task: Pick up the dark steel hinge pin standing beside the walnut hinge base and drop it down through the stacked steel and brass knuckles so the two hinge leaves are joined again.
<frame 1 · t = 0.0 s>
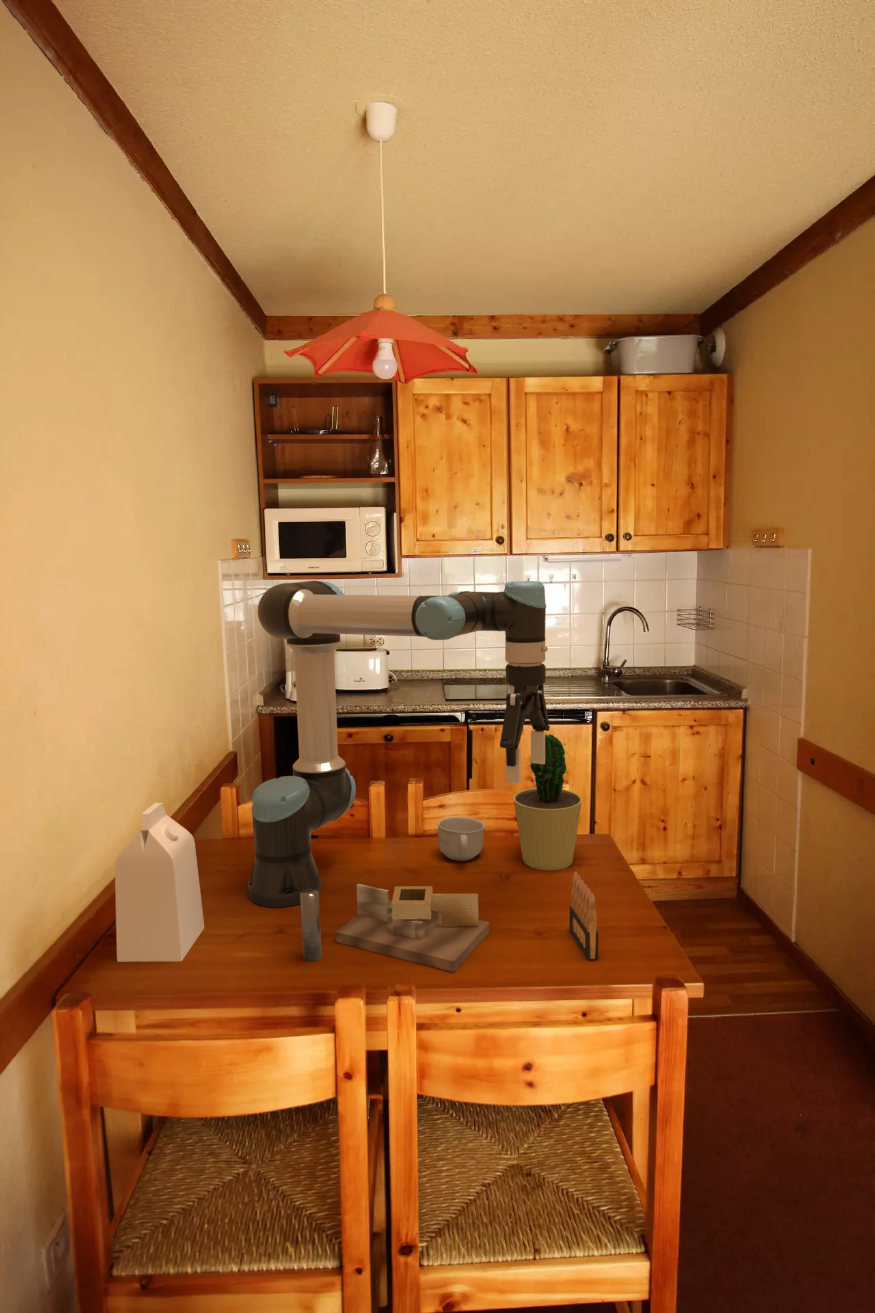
hand: (526, 772, 145), 28 cm above the table, tool pointing down, fingers open, 13 cm apart
teacup: (460, 859, 175), on the table
milk: (162, 945, 139), on the table
ammunition clip: (583, 946, 136), on the table
potted cactus: (547, 861, 173), on the table
hinge pin: (312, 956, 133), on the table
hinge base: (413, 937, 139), on the table
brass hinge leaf: (436, 909, 139), point 5 cm above the table, hinge at 25.0°
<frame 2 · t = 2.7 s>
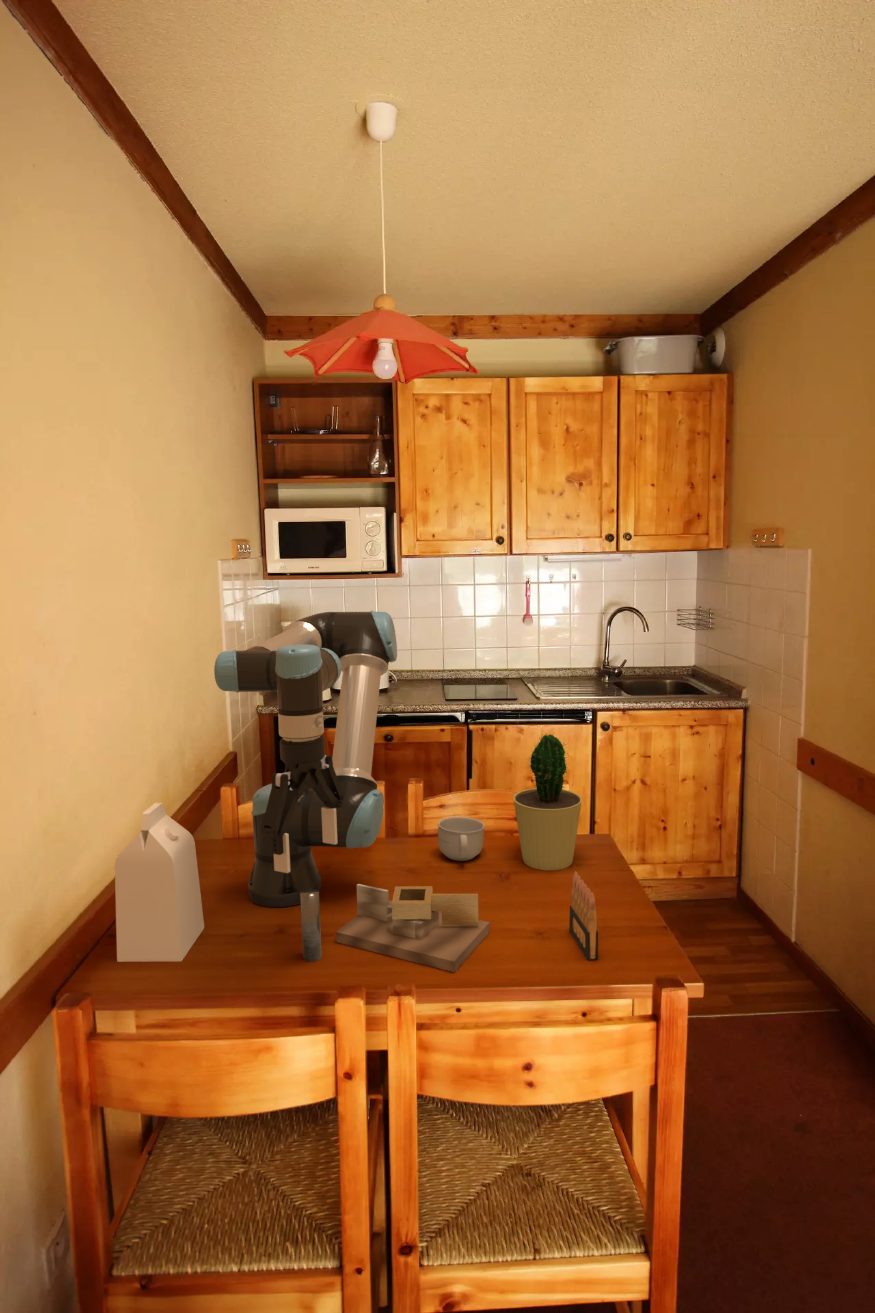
hand: (307, 856, 131), 19 cm above the table, tool pointing down, fingers open, 13 cm apart
nothing on the table moved.
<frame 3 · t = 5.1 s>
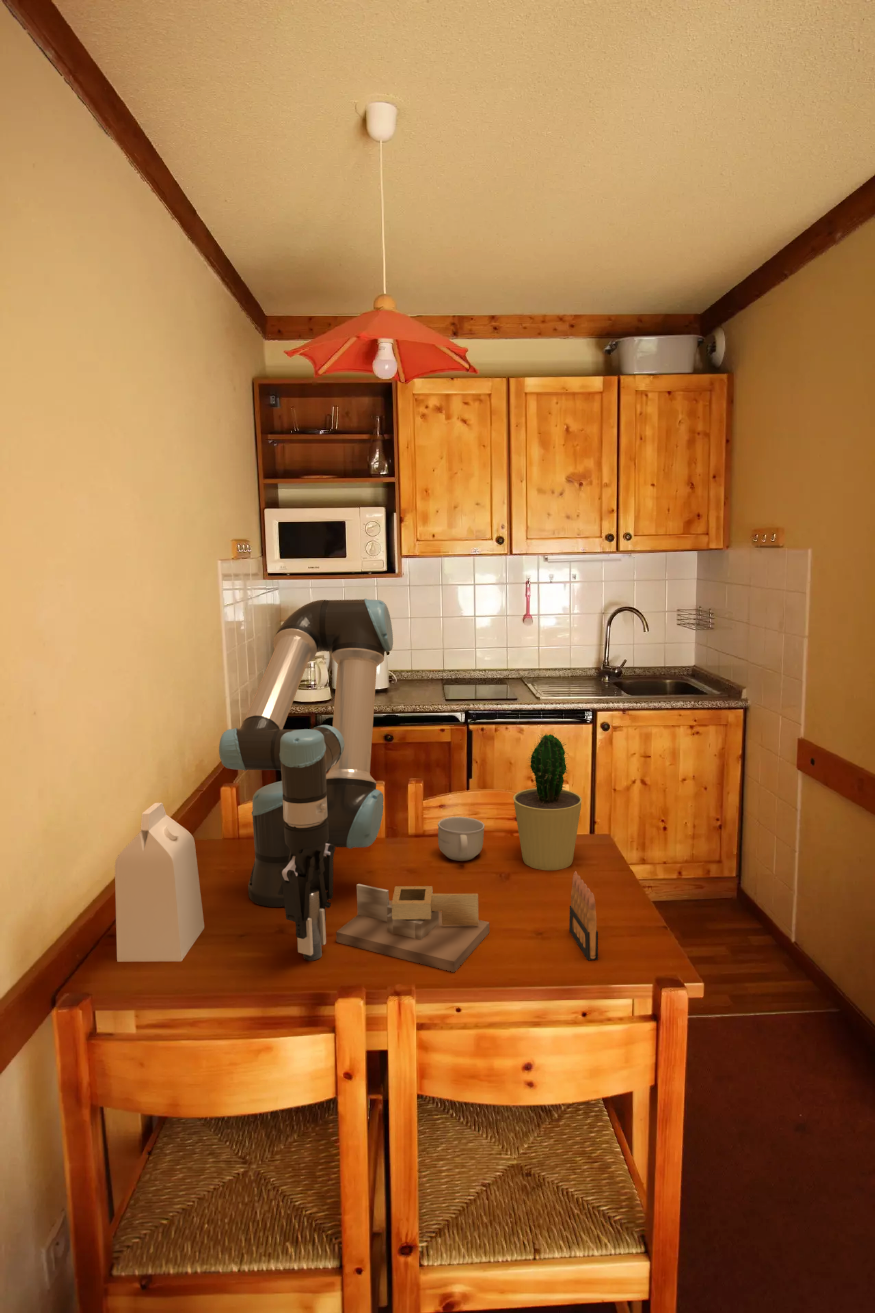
hand: (312, 947, 133), 2 cm above the table, tool pointing down, fingers closed on hinge pin, 3 cm apart
hinge pin: (312, 955, 134), on the table, touching gripper
everything else where it was.
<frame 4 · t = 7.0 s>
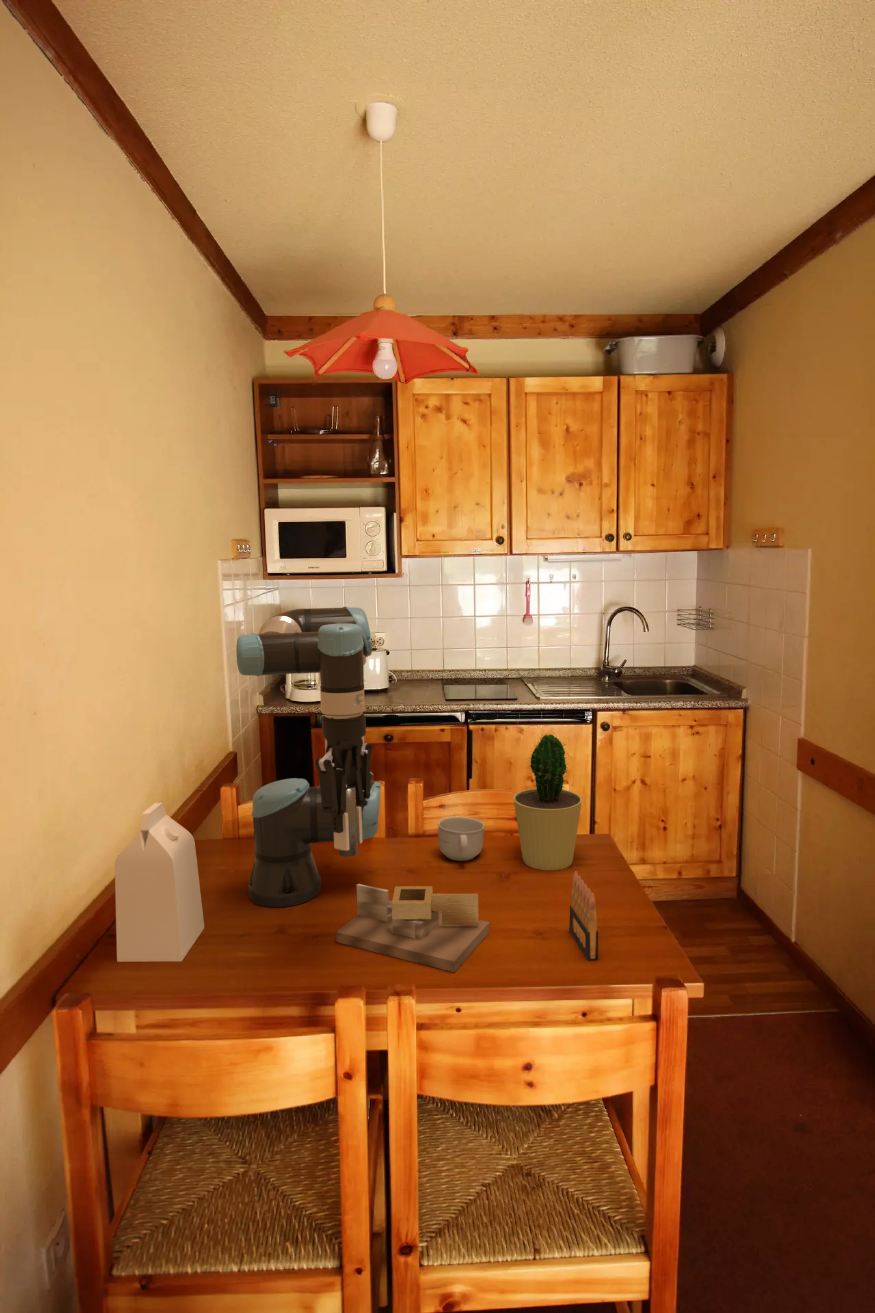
hand: (348, 844, 133), 20 cm above the table, tool pointing down, fingers closed on hinge pin, 3 cm apart
hinge pin: (348, 853, 133), point 18 cm above the table, touching gripper
everything else where it was.
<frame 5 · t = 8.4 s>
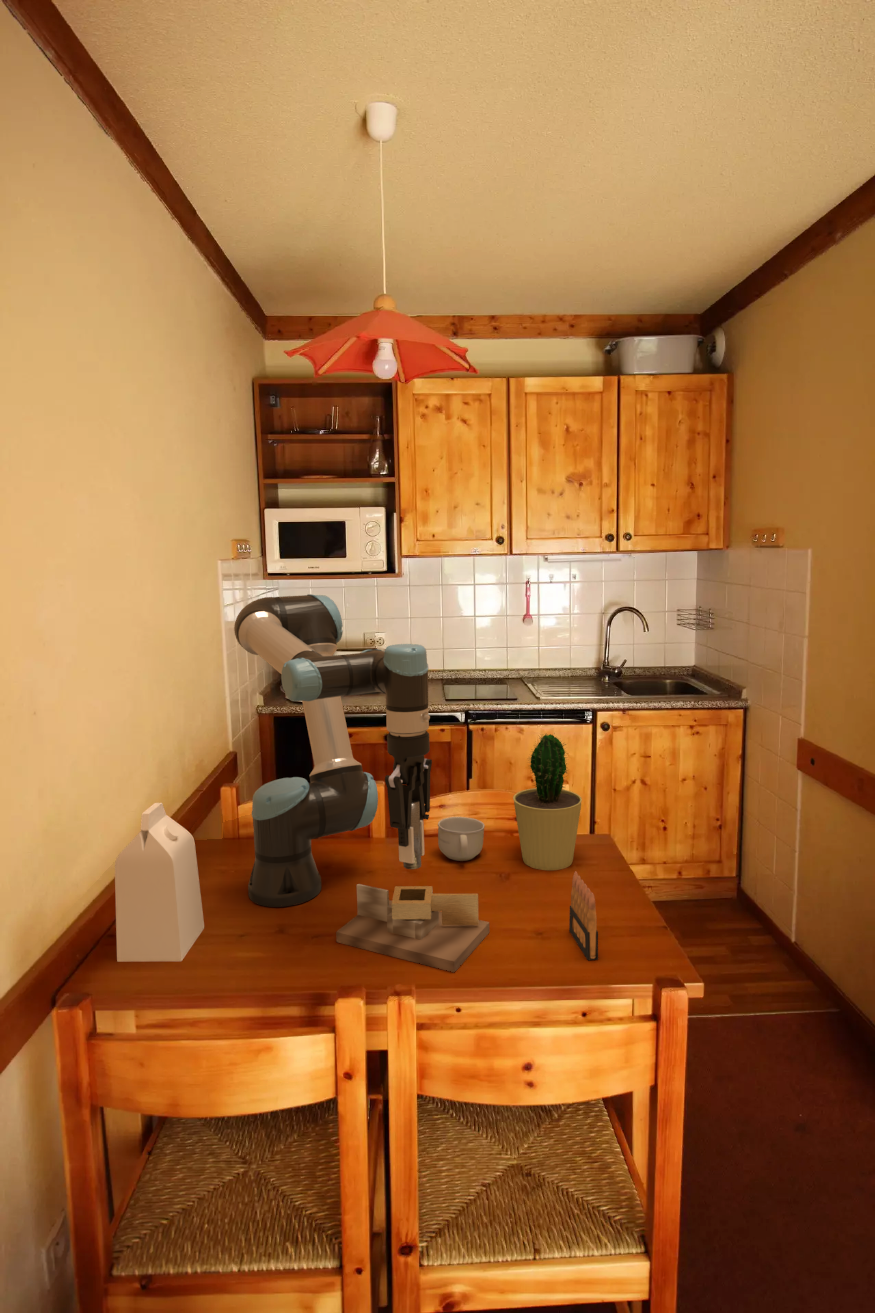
hand: (411, 857, 137), 15 cm above the table, tool pointing down, fingers closed on hinge pin, 3 cm apart
hinge pin: (412, 865, 137), point 14 cm above the table, touching gripper
everything else where it was.
when the fingers open (11 cm above the table, at t = 9.3 s): hinge pin drops 6 cm, resting on hinge base.
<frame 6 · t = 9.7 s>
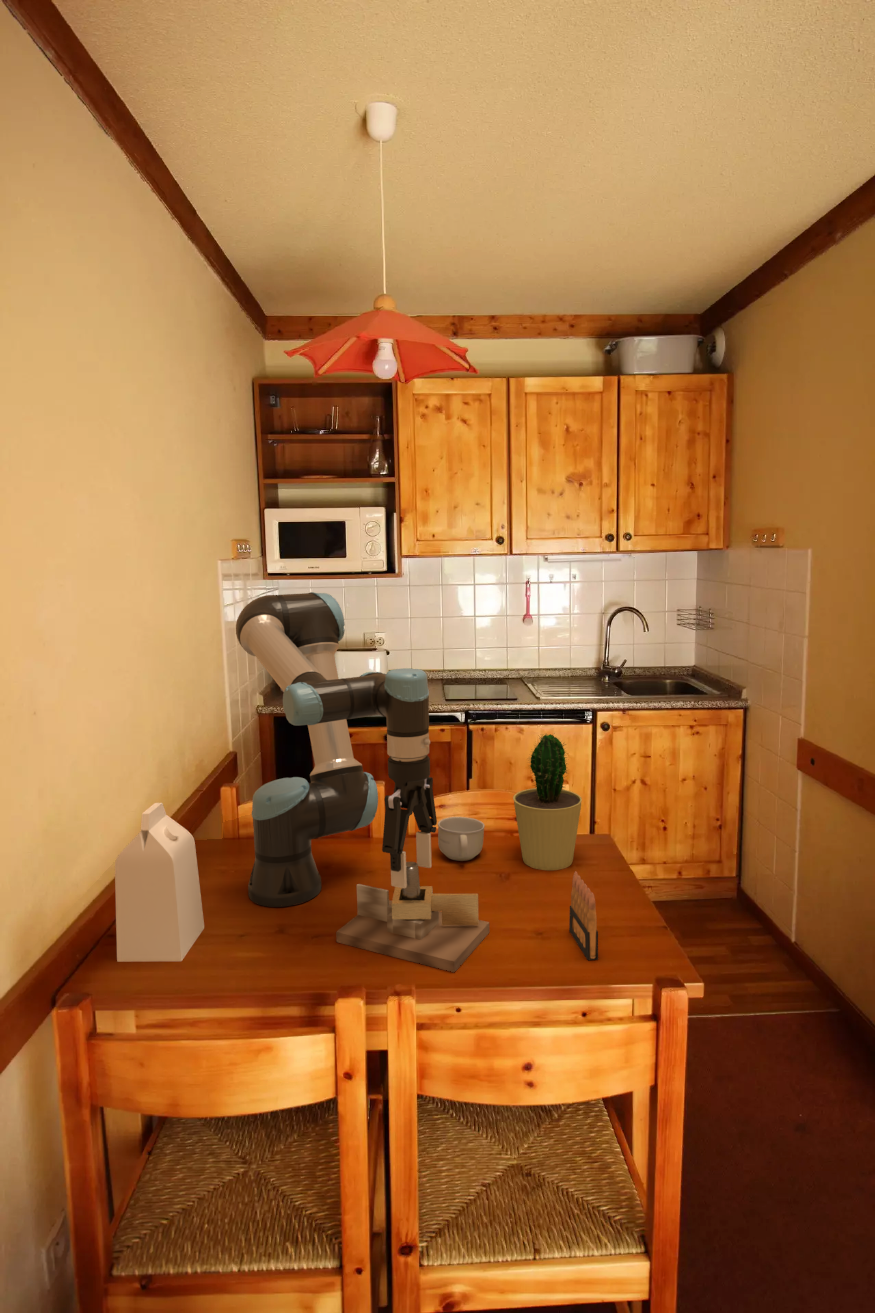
hand: (412, 876, 138), 12 cm above the table, tool pointing down, fingers open, 9 cm apart
hinge pin: (414, 925, 139), point 2 cm above the table, touching hinge base
everything else where it was.
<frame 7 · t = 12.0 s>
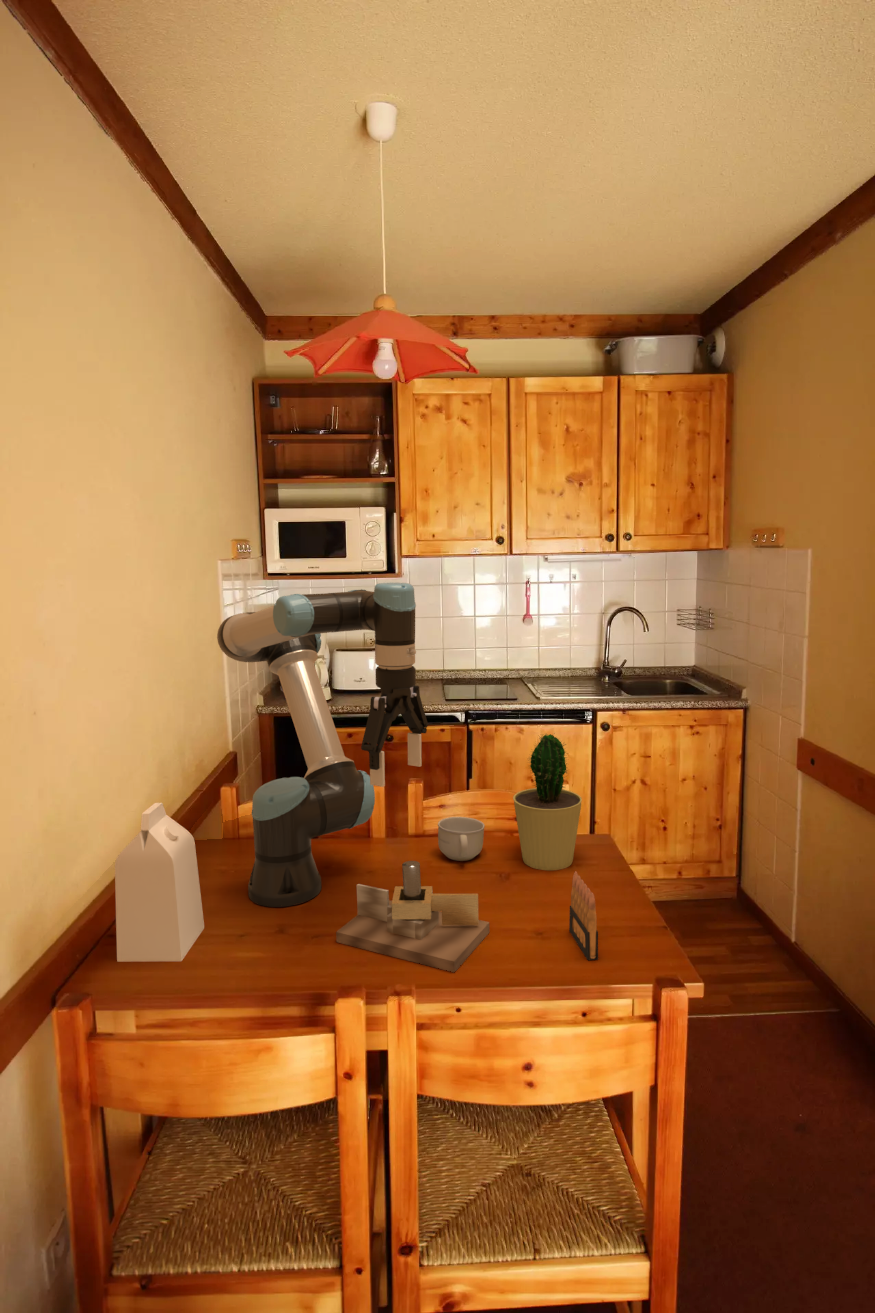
hand: (396, 775, 145), 28 cm above the table, tool pointing down, fingers open, 13 cm apart
nothing on the table moved.
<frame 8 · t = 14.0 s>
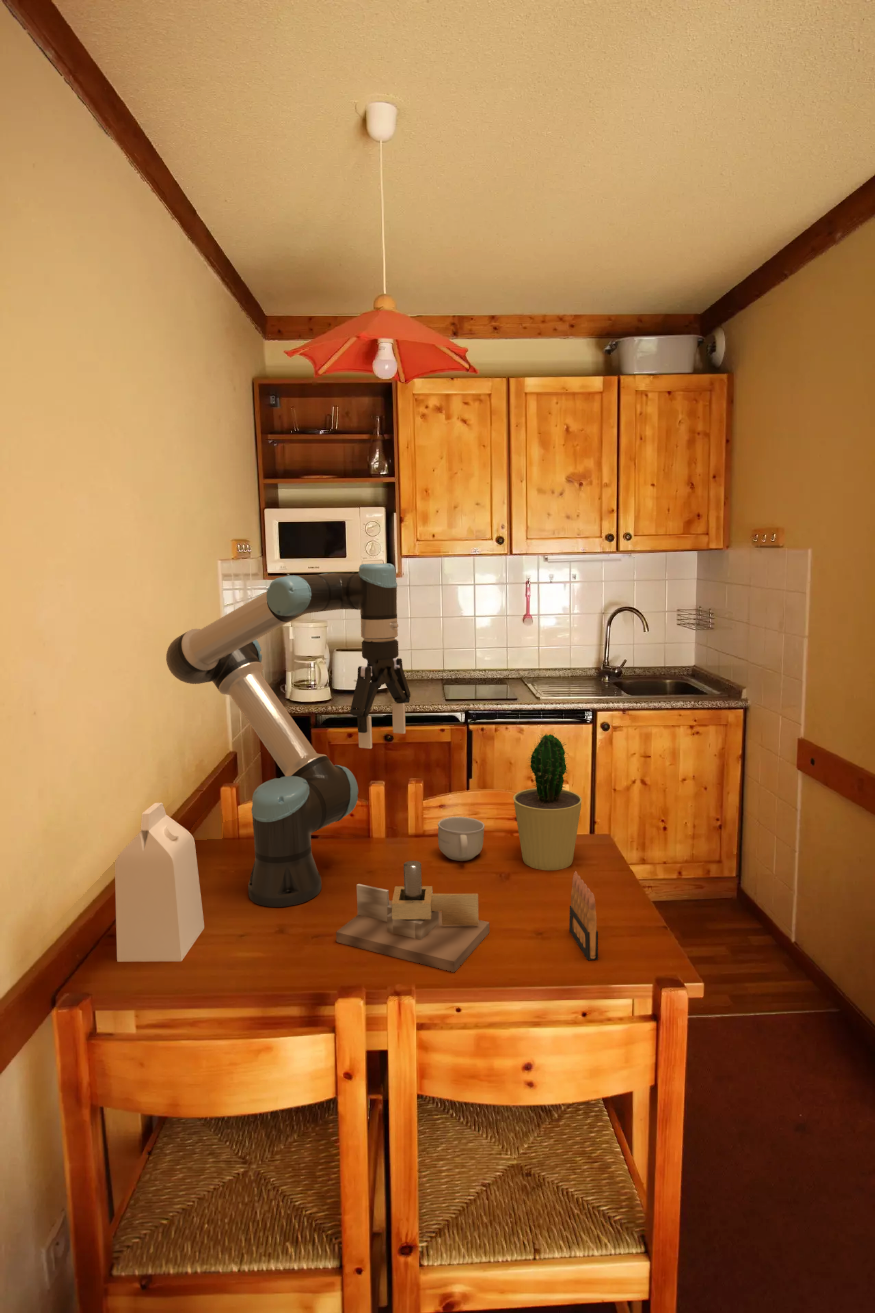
hand: (383, 740, 158), 32 cm above the table, tool pointing down, fingers open, 13 cm apart
nothing on the table moved.
at the end: hinge pin 0.3 cm off-centre on the hinge base, point 2.0 cm above the hinge base's base; hinge pin tilted 1°; the gripper is holding nothing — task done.
